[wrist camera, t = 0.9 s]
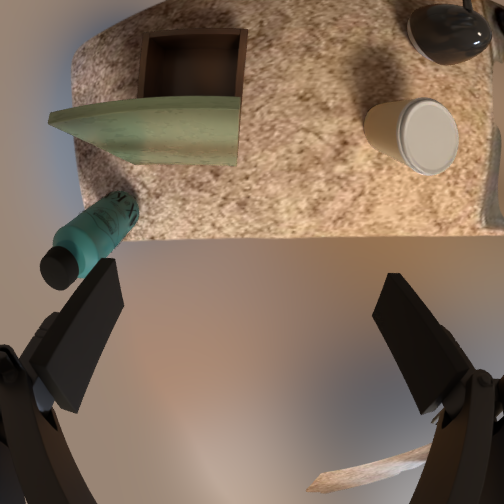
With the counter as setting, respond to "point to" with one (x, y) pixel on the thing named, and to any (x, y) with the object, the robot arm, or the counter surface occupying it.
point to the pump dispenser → (448, 32)
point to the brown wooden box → (193, 63)
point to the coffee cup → (414, 134)
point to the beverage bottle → (88, 239)
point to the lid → (159, 129)
